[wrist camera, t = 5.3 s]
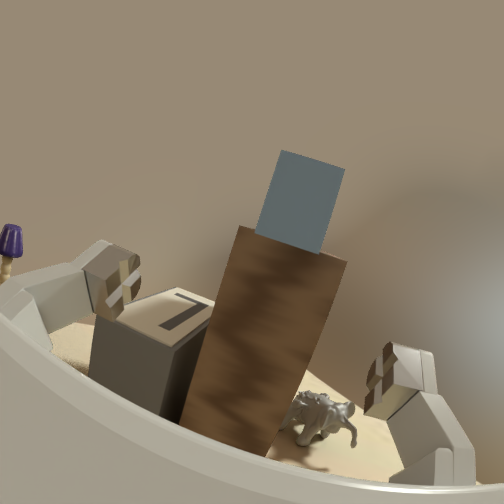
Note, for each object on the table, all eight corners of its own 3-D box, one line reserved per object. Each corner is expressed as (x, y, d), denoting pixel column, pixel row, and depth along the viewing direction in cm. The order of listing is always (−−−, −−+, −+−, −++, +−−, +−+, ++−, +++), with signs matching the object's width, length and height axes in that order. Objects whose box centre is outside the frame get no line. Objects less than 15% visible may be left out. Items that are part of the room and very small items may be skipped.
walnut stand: (263, 421, 41) (328, 252, 39) (237, 505, 23) (347, 261, 21) (212, 402, 42) (268, 232, 40) (164, 476, 24) (239, 225, 22)
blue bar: (310, 247, 33) (322, 211, 33) (318, 254, 13) (345, 169, 13) (284, 238, 34) (295, 203, 33) (254, 233, 14) (281, 149, 14)
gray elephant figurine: (293, 413, 46) (308, 374, 45) (358, 441, 39) (378, 402, 39) (265, 435, 38) (281, 392, 38) (340, 471, 32) (364, 428, 31)
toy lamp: (-7, 320, 36) (3, 219, 35) (17, 326, 38) (29, 226, 37) (-13, 333, 32) (-5, 224, 31) (12, 340, 34) (23, 232, 33)
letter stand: (200, 397, 42) (229, 306, 41) (146, 468, 25) (175, 349, 23) (153, 375, 44) (175, 285, 42) (84, 431, 26) (97, 311, 25)
